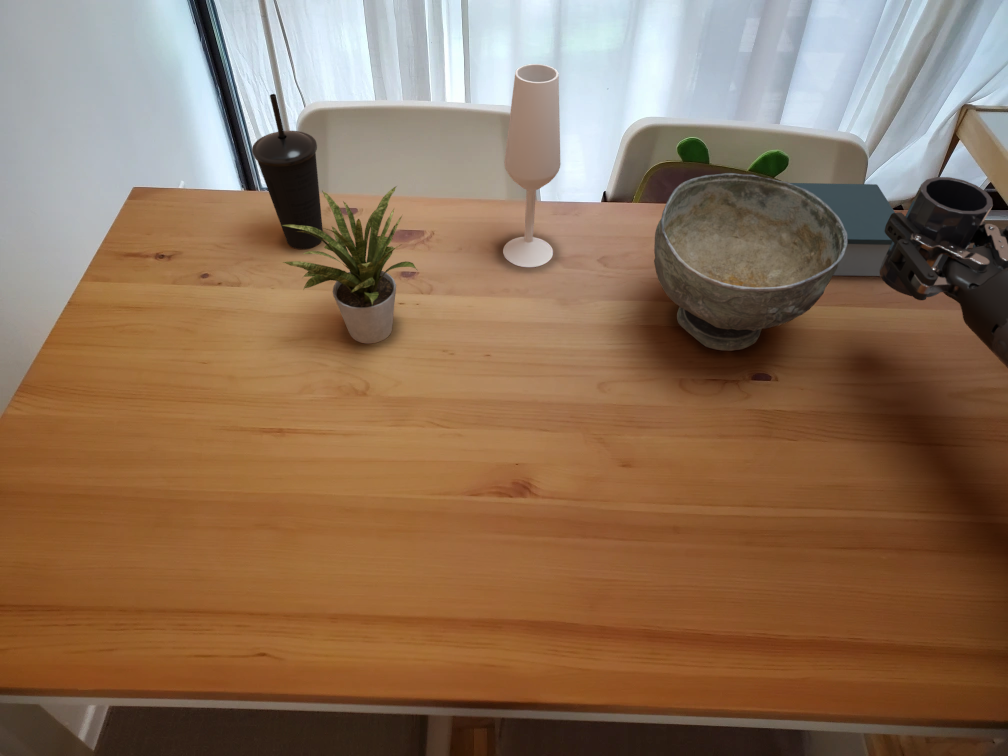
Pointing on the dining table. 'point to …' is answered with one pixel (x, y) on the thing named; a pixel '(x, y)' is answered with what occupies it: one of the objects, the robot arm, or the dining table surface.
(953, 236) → the cup
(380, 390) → the dining table surface
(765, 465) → the dining table surface
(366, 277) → the house plant
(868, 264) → the container
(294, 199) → the drinking cup
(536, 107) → the champagne flute
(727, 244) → the bowl
